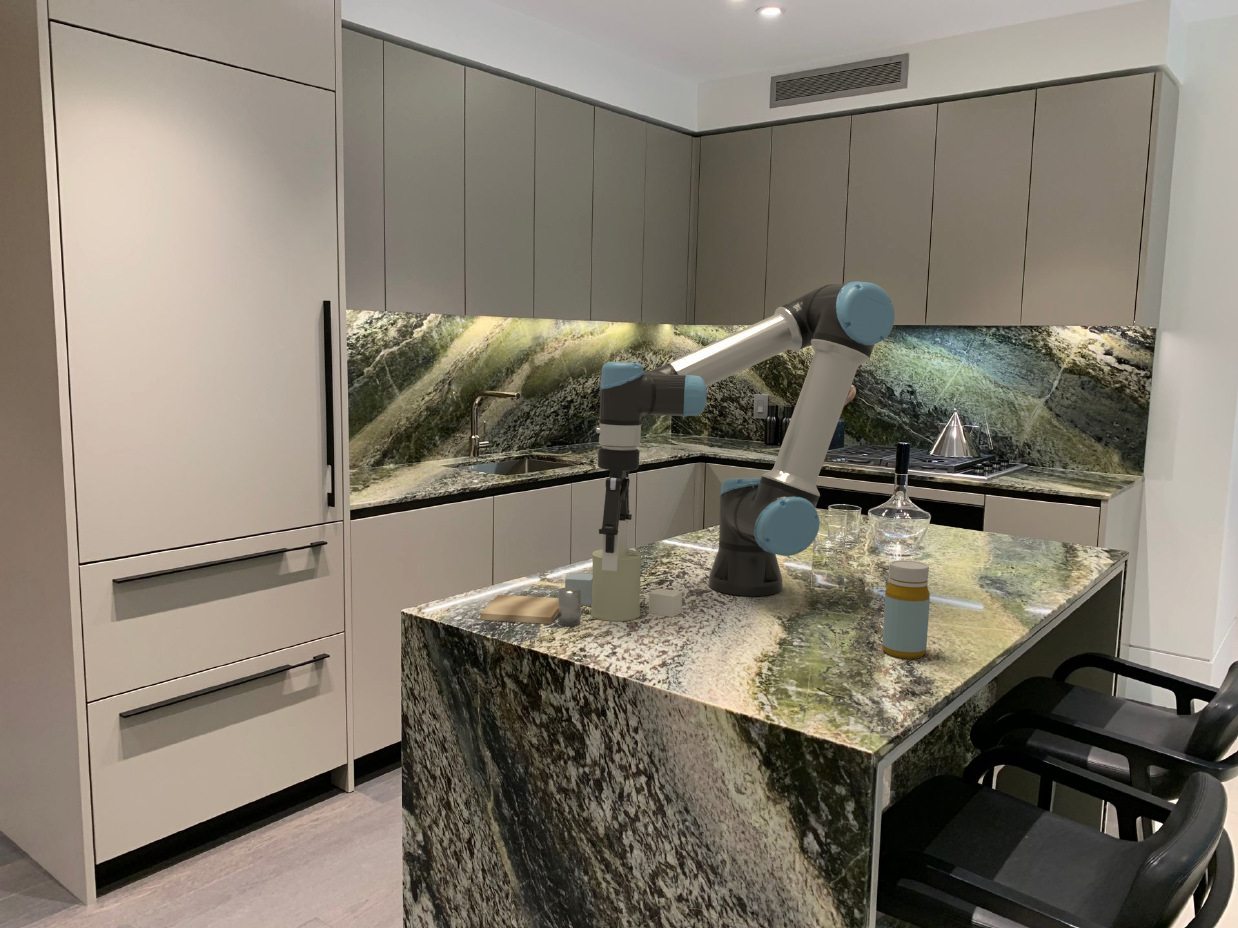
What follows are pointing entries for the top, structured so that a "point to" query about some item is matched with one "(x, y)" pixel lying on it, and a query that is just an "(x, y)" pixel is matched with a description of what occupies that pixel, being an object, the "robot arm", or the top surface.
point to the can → (617, 587)
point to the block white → (665, 602)
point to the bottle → (906, 610)
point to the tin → (569, 606)
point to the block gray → (581, 585)
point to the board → (521, 609)
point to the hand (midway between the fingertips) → (614, 561)
